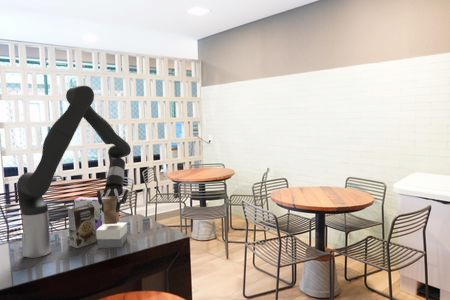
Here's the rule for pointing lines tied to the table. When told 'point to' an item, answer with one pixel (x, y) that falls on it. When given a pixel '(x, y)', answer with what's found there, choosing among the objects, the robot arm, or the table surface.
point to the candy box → (97, 208)
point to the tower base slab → (112, 242)
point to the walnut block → (110, 210)
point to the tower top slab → (111, 231)
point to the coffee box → (81, 226)
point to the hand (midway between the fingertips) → (110, 211)
